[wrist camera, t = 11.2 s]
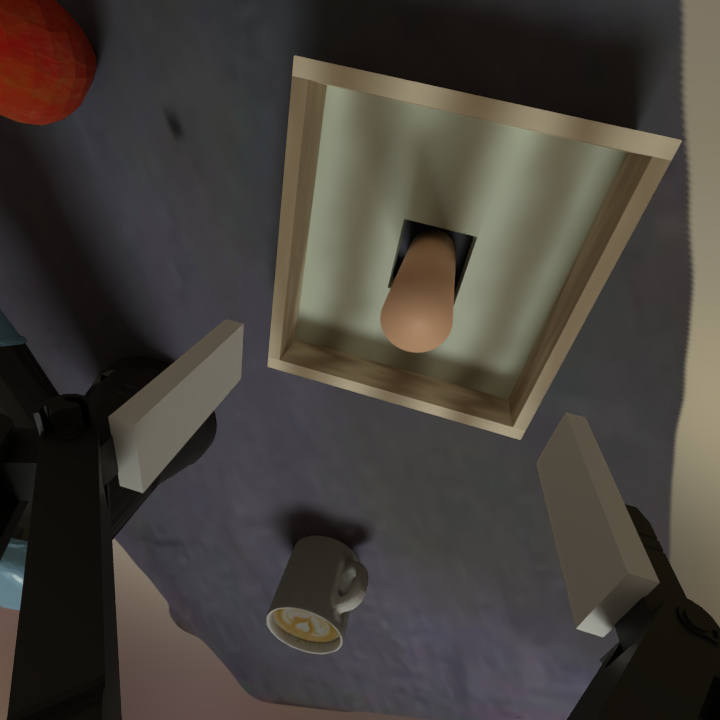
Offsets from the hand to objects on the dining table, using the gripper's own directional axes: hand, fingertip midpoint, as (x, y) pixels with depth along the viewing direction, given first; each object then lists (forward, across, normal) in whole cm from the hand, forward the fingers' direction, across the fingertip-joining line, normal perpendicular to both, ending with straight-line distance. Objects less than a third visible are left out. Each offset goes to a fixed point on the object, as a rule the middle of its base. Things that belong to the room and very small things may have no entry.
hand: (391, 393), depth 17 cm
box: (+21, +1, 0) cm, 21 cm away
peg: (+21, 0, 0) cm, 21 cm away
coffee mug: (+22, 0, -45) cm, 50 cm away
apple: (+22, -30, +8) cm, 38 cm away
